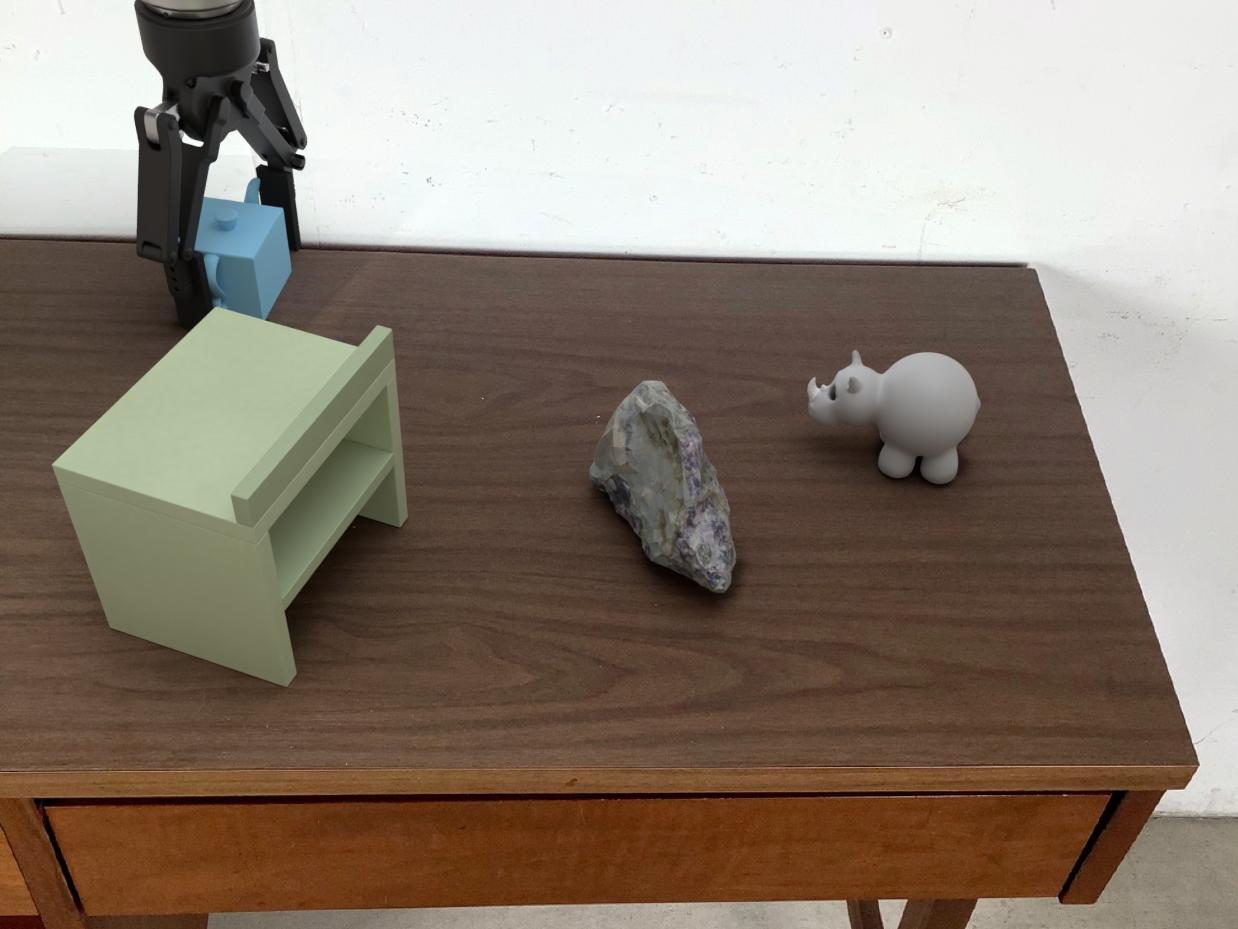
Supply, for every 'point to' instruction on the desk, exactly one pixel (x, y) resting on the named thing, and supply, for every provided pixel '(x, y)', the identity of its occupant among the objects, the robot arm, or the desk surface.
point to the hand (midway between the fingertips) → (243, 285)
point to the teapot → (244, 252)
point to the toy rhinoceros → (904, 410)
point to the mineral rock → (666, 486)
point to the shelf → (234, 484)
